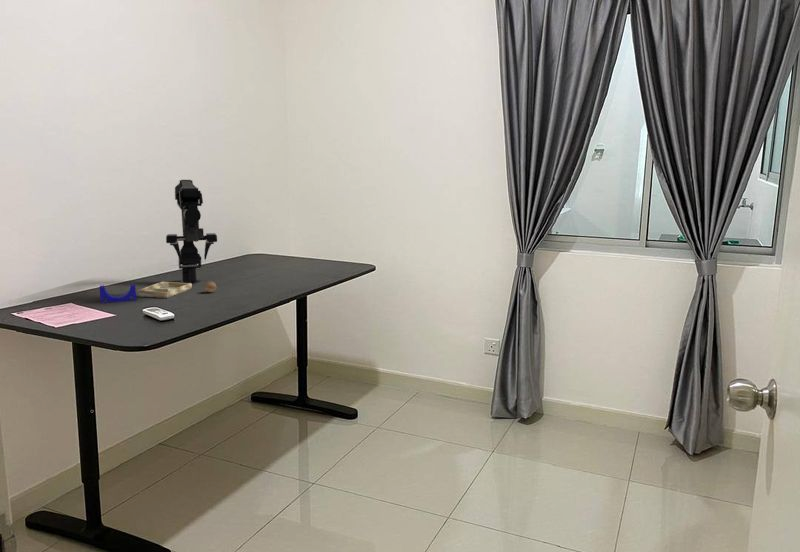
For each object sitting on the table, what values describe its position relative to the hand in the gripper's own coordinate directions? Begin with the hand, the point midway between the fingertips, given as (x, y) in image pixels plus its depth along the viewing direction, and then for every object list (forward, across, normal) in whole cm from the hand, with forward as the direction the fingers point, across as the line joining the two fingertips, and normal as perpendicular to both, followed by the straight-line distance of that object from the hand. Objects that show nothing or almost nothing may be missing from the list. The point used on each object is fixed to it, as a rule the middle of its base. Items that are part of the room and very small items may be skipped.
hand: (192, 260), depth 251 cm
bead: (+13, +6, -1) cm, 14 cm away
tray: (+13, -11, +3) cm, 17 cm away
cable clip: (+13, -27, -7) cm, 31 cm away
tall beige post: (+11, -11, +8) cm, 17 cm away
